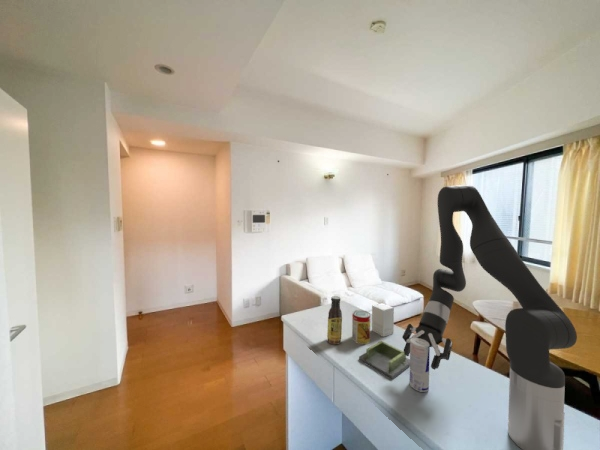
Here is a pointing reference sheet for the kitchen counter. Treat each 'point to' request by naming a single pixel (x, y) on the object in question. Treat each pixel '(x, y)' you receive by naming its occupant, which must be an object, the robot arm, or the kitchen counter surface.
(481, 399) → the kitchen counter surface
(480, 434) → the kitchen counter surface
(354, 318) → the canned food
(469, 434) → the kitchen counter surface
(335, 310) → the sauce bottle
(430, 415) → the kitchen counter surface
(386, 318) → the supplement box
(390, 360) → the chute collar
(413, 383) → the beverage can
